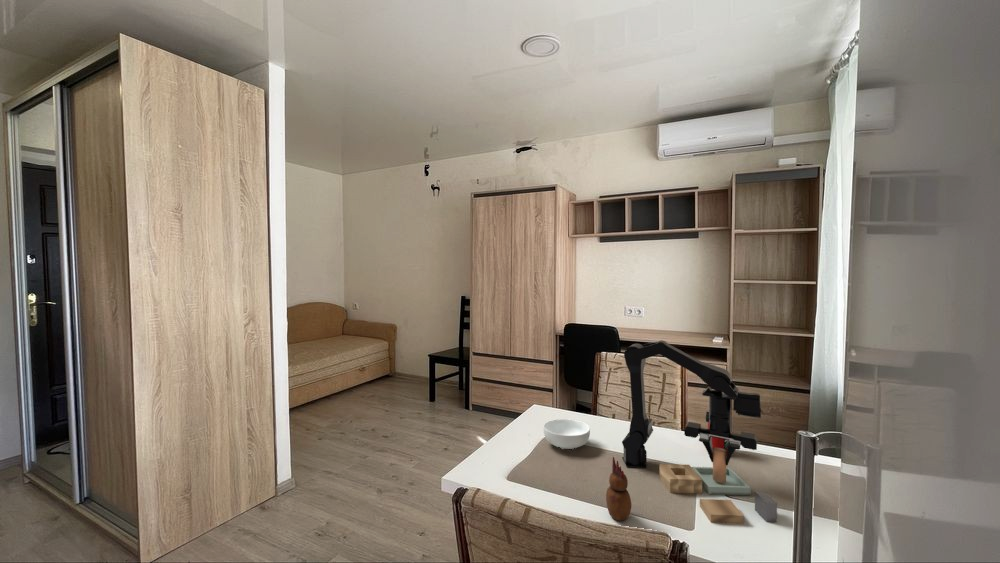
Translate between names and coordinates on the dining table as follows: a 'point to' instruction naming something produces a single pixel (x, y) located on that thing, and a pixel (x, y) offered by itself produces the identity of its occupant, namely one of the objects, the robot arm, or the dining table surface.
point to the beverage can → (719, 442)
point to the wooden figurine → (618, 494)
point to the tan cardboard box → (721, 511)
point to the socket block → (680, 478)
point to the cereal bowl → (566, 433)
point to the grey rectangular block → (766, 506)
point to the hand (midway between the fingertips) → (719, 463)
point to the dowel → (719, 465)
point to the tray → (730, 487)
